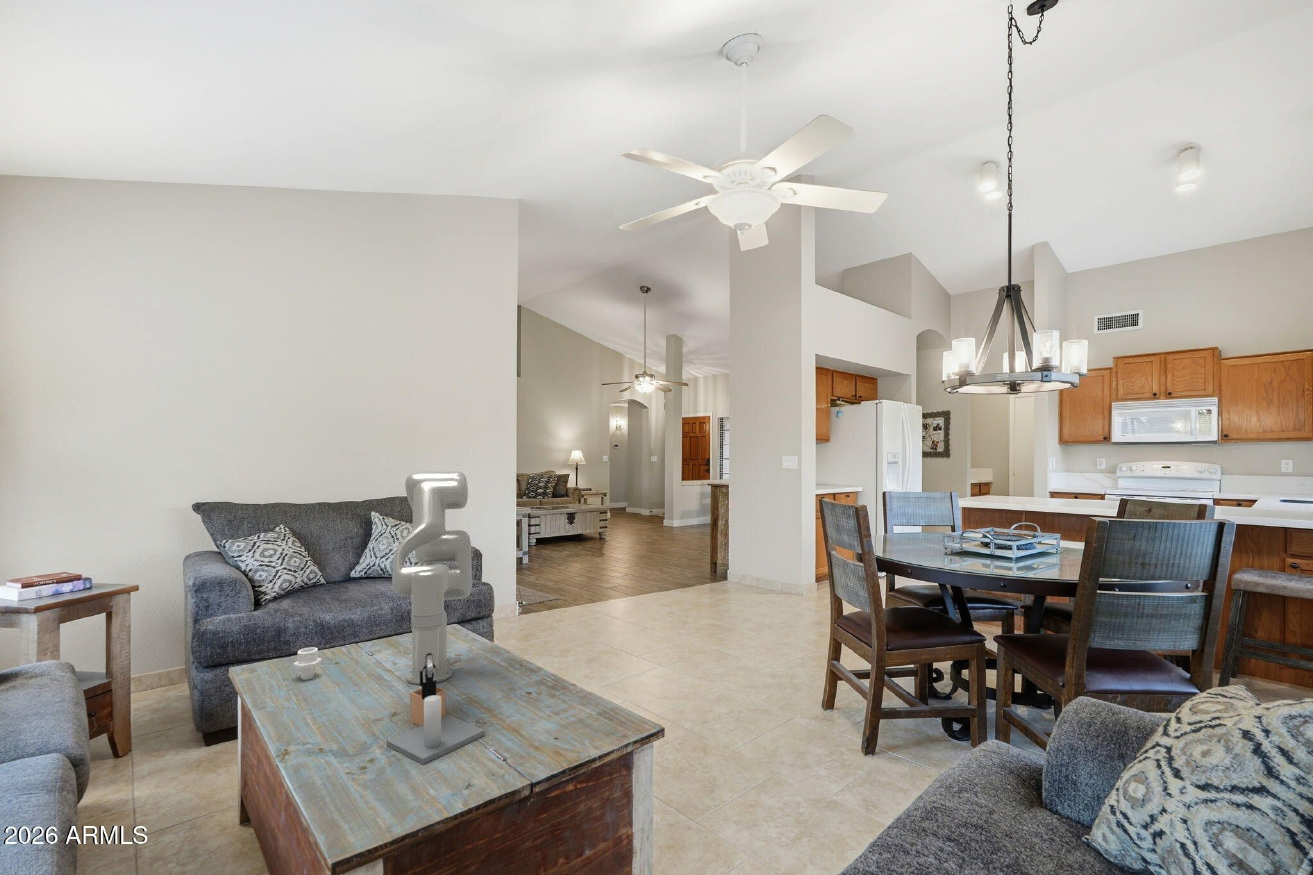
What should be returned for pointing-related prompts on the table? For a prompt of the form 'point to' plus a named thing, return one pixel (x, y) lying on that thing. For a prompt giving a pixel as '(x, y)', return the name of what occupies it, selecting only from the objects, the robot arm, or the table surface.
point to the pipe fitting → (307, 662)
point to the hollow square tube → (418, 705)
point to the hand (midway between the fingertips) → (427, 691)
